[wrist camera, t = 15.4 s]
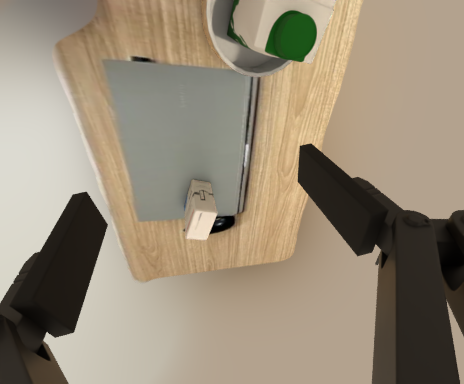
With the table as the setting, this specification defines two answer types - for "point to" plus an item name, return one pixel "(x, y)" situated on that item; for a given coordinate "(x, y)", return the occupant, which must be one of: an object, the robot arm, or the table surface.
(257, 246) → the table surface
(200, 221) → the ink box
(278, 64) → the steel tub
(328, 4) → the soya milk
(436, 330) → the robot arm
